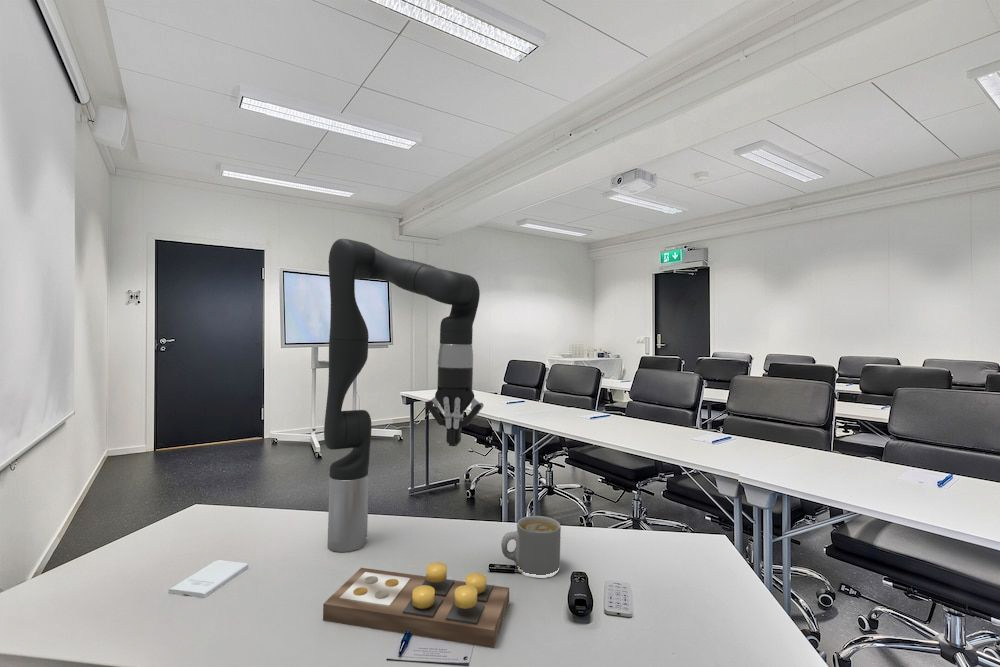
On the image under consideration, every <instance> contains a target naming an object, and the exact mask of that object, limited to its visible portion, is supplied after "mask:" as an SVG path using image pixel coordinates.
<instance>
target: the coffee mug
mask: <svg viewBox="0 0 1000 667" xmlns="http://www.w3.org/2000/svg"><path fill="white" fill-rule="evenodd" d="M561 528H562V526H561V523H560V522H559V521H557V520H556V519H554V518H551V517H548V516H541V515H531V516H530V515H529V516H525V517H521V518H520V519H519V520H518V521H517V523H516V529H517V530H515V531H509V532H506V533H504V535H503V536H502V539H501V545H500V546H501V547H500V548H501V552H502V554H503V556H504V558H506V559H508V560H511V561H513V562H514V563H515V564H516V565H517V566H519V567H520V568H521V569H522V570H523V572H525V573H529V574H536V575H546V574H550V573H553V572H555V571H557V570H558V568H559V566H560V565H561V564H560V563H561V562H560V561H561V560H560V559H561V531H562V530H561ZM511 540H514V541H515V548H514V550H513V551H509V550H508V543H509V542H510V541H511ZM516 565H515V566H516Z"/></svg>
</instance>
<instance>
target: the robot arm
mask: <svg viewBox="0 0 1000 667" xmlns="http://www.w3.org/2000/svg"><path fill="white" fill-rule="evenodd" d="M328 254H329V255H328V277H329V278H328V280H329V291H330V292H329V293H330V319H329V320H330V321H329V324H330V326H329V336H328V337H329V340H328V380H327V381H328V387H327V399H326V405H325V416H324V424H323V425H324V427H323V439H324V444H325V447H326V448H327V449H329V450H345V449H352V450H351V451H350V452H349V453H347V454H346V455H345V456H343V457H342V458H340V459H338V460H336V461H333V462H332V463H331V464H330V466H329V477H328V478H329V480H328V481H329V486H328V513H327V514H328V519H327V520H328V521H327V549H329V550H330V551H332V552H333V551H334V552H338V553H341V552H342V553H344V552H345V553H346V552H353V551H357V550H359V549H361V548H363V547H364V546H365V545H366V544H367V538H368V522H369V521H368V519H369V517H368V515H369V511H368V510H369V502H368V500H369V499H368V498H369V497H368V496H369V493H368V492H369V490H368V488H369V465H370V452H371V441H372V440H371V439H372V419H371V415H370V413H369V412H368V410H366V409H355V410H353V409H351V410H342V409H343V404H344V401H345V397H346V395H347V393H348V391H349V389H350V387H351V386H352V384H353V383H354V381H355V380H356V379H357V377H358V375H359V374H360V373H361V371H363V368H364V367H365V365H366V363H367V361H368V357H369V356H368V355H369V339H370V338H369V329H368V327H367V324H366V321H365V319H364V316H363V315H362V313H361V310H360V308H359V306H358V304H357V300H356V292H355V291H356V289H355V287H356V284H355V283H356V282H355V280H379V281H385V282H388V283H391V284H392V285H395V286H396V287H398V288H399V289H402V290H405V291H408V292H410V293H414V294H416V295H420V296H423V297H427V298H429V299H432V300H434V301H436V302H439V303H442V304H445V305H450V306H451V309H450V313H449V316H446V317H443V318H442V319H441V321H440V328H439V349H438V354H437V355H438V356H437V357H438V358H437V390H436V392H435V395H434V397H433V398H432V399H430V400H428V401H426V402H425V406H426V408H427V410H428V411H429V412H430V413H431V415H432V417H433V418H434V419H435V421H436V422H437V424H438V425H439V426H443V427H445V429H446V436H445V437H446V441H445V442H446V443H447V444H448V446H449V447H457V446H458V445H459V444H460V443H461V440H462V428H464V427H467V426H469V425H470V424H471V423H472V421H473V420H474V419H475V417H476V416H478V414H479V413H480V411H481V410H482V409H483V408H484V403H482V402H479V401H478V400H477V399H476V398H475V393H474V391H473V378H474V377H473V376H474V375H473V374H474V373H473V372H474V353H473V352H474V350H473V324H474V323H475V319H476V316H477V311H478V307H479V303H480V297H481V296H480V295H481V294H480V293H481V292H480V287H479V283H478V280H476V278H474V276H471V275H469V274H466V273H460V272H456V271H452V270H448V269H443V268H439V267H435V266H434V265H431V264H427V263H423V262H421V261H415V260H411V259H405V258H399V257H396V256H393V255H391V254H388V253H387V252H383V251H382V250H380V249H378V248H376V247H374V246H373V245H370V244H369V243H366V242H363V241H357V240H354V239H349V238H338V239H336V240H335V241H334V242H333V244H332V245H331V247H330V250H329V253H328ZM439 406H440V407H441V409H442V410H443V412H444V413H443V412H442V410H441V409H440V407H439ZM469 406H470V409H471V411H470V412H469V413H468V414H467V416H466V417H465V418H464V414H465V411H466V410H467V409H468V408H469ZM463 418H464V419H463ZM366 537H367V538H366Z"/></svg>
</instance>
